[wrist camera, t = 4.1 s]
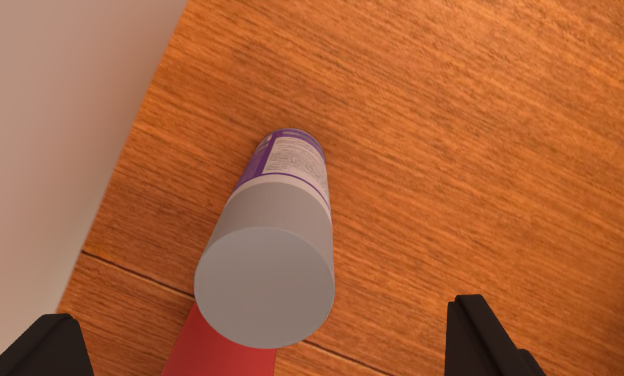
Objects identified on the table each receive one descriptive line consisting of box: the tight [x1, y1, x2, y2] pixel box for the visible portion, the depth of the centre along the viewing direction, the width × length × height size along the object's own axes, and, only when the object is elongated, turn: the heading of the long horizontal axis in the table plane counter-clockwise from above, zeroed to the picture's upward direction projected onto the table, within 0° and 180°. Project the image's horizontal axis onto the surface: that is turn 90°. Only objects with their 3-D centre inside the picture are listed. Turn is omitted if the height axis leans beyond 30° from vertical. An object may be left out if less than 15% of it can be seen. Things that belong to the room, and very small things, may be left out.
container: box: [193, 128, 335, 349], centre depth 20 cm, size 5×5×15 cm
